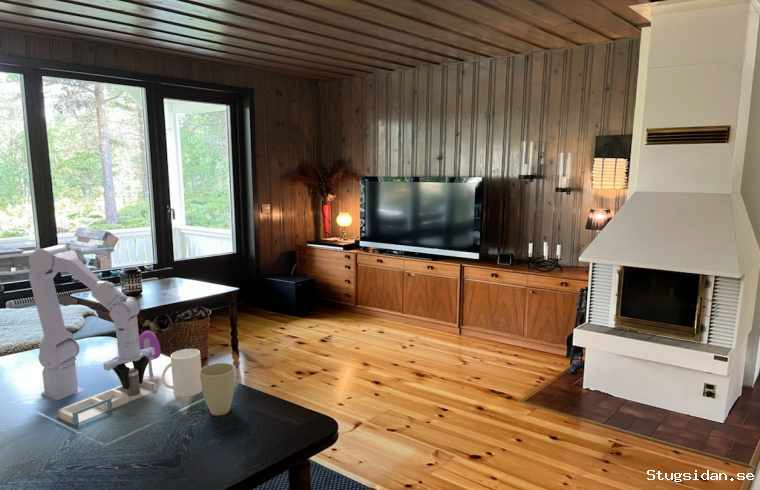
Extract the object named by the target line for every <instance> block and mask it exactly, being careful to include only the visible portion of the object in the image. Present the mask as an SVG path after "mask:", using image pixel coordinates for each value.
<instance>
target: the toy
mask: <svg viewBox="0 0 760 490" xmlns="http://www.w3.org/2000/svg"><path fill="white" fill-rule="evenodd" d="M139 343H140V350H141V349H146V348H149V347H152V348H154V350H155V354H154V355H149V356H146V358H148V359H149V363H148V376H153V375H154V372H153V364H152V361H153V360H156V359H158V358H159V357H160V356H161V346H160V341H159V339H158V337H157V335H156V334H155V333H154V332H153V331H151V330H145V331H143V332H142V333H141V334H139Z"/></svg>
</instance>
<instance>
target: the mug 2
mask: <svg viewBox="0 0 760 490" xmlns="http://www.w3.org/2000/svg"><path fill="white" fill-rule="evenodd" d="M235 371H236V369H235V366H234V365H233V364H232V363H228V362H218V363H217V362H215V363H212V364H207V365H206V366H203V367H201V370H200V379H201V386H202V395H203V398H204V401H205V403H206V405H207V407H208V409H209V413H210V414H211V415H213V416H224V415H226V414H228V413H229V412H230V410H231V406H232V402H233V397H234V394H235V393H234V392H235V377H236V376H235V375H236V374H235Z"/></svg>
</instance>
